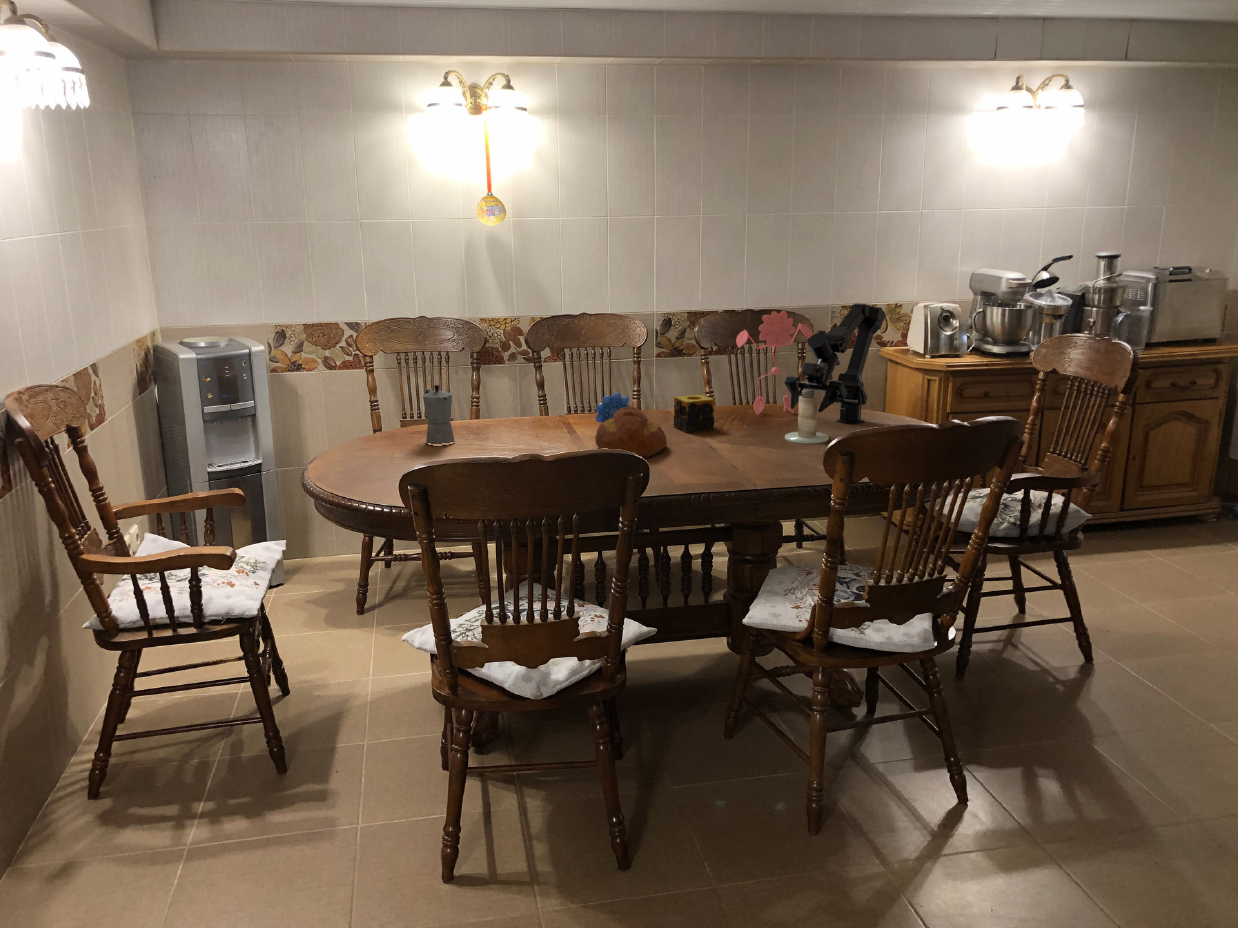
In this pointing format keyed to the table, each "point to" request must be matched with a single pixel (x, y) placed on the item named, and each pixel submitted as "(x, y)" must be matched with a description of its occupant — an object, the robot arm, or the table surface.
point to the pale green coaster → (795, 439)
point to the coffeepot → (438, 416)
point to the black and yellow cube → (693, 413)
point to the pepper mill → (807, 414)
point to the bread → (631, 433)
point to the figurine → (774, 334)
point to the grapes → (610, 406)
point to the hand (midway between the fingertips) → (805, 410)
